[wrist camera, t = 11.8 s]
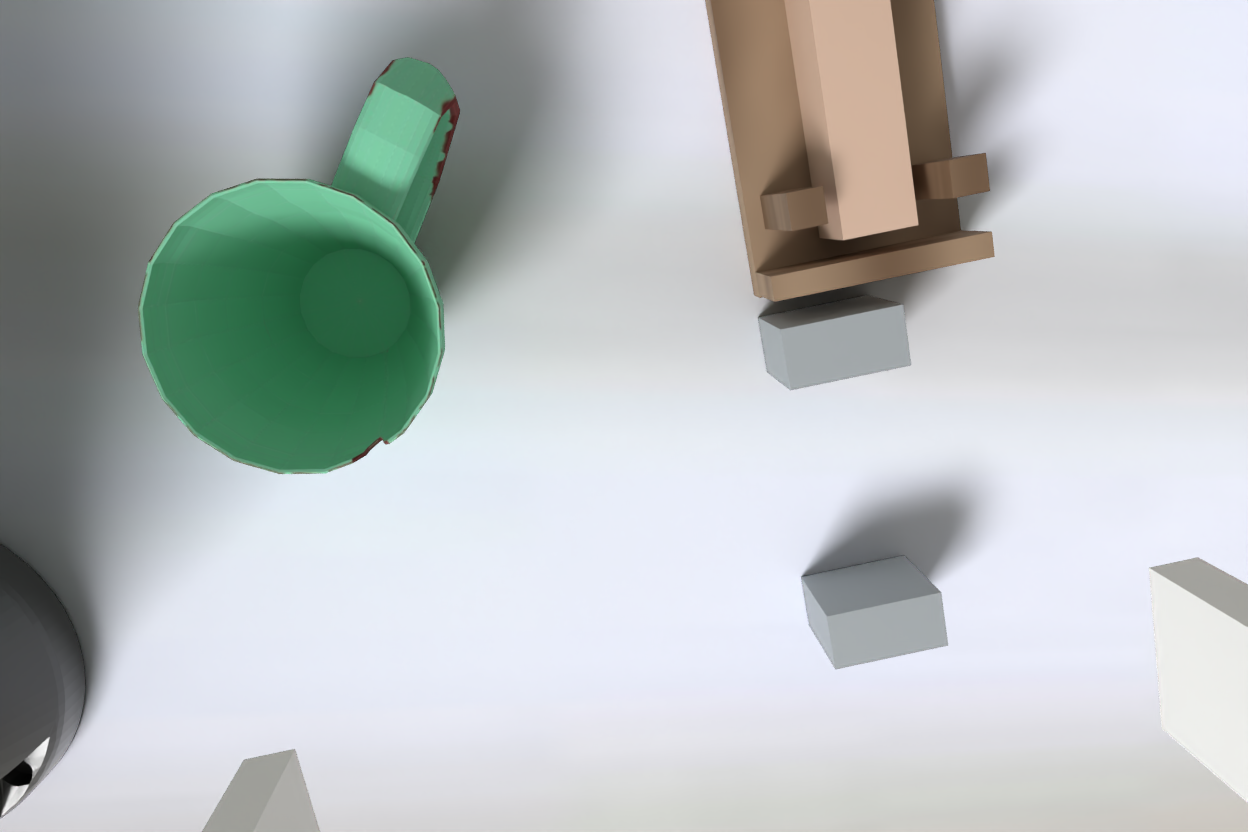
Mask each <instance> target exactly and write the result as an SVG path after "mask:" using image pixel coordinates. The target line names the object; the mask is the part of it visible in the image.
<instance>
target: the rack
mask: <svg viewBox="0 0 1248 832" xmlns="http://www.w3.org/2000/svg"><path fill="white" fill-rule="evenodd" d="M705 2H706V8H707V14H708V20H709V26H710V32H711V38H712V44H713V50H714V56H715V62H716V68H717V74H718V80H719V86H720V92H721V98H722V104H723V110H724V116H725V122H726V128H727V135H728V141H729V147H730V153H731V159H732V165H733V171H734V177H735V183H736V189H737V195H738V201H739V207H740V213H741V219H742V225H743V231H744V237H745V243H746V249H747V255H748V261H749V267H750V273H751V279H752V285H753V291H754V295H755V296H757V297H759V298H761V297H764V298H767V299H769V300H772V301H774V302H776V301H781V300H786V299H790V298H795V297H800V296H805V295H810V294H815V293H820V292H825V291H829V290H834V289H839V288H844V287H849V286H854V285H859V284H864V283H869V282H873V281H878V280H883V279H888V278H893V277H898V276H903V275H908V274H913V273H917V272H922V271H927V270H932V269H937V268H942V267H947V266H952V265H956V264H961V263H966V262H971V261H976V260H981V259H986V258H991V257H995V256H994V247H993V238H992V232H987V231H962V230H961V228H960V219H959V210H958V202H957V198H958V197H962V196H967V195H972V194H977V193H982V192H987V191H990V187H989V178H988V169H987V160H986V153H982V154H975V155H968V156H961V157H954V158H952V150H951V142H950V133H949V125H948V116H947V107H946V99H945V90H944V82H943V73H942V64H941V56H940V47H939V39H938V30H937V21H936V13H935V4H934V0H890V2H891V10H892V18H893V26H894V34H895V42H896V50H897V58H898V66H899V74H900V82H901V90H902V97H903V105H904V113H905V121H906V129H907V137H908V145H909V153H910V161H911V169H912V177H913V185H914V193H915V201H916V209H917V217H918V225H916V226H911V227H906V228H901V229H897V230H892V231H887V232H882V233H877V234H872V235H867V236H862V237H857V238H852V239H847V240H835V239H824V238H820V237H819V230H818V226H820V225H825V224H828V217H827V210H826V203H825V196H824V189H823V186H817V187H812V183H811V177H810V170H809V163H808V156H807V150H806V143H805V136H804V130H803V123H802V116H801V109H800V103H799V96H798V89H797V83H796V76H795V69H794V62H793V56H792V49H791V42H790V35H789V29H788V22H787V15H786V9H785V2H784V0H705Z"/></svg>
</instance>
